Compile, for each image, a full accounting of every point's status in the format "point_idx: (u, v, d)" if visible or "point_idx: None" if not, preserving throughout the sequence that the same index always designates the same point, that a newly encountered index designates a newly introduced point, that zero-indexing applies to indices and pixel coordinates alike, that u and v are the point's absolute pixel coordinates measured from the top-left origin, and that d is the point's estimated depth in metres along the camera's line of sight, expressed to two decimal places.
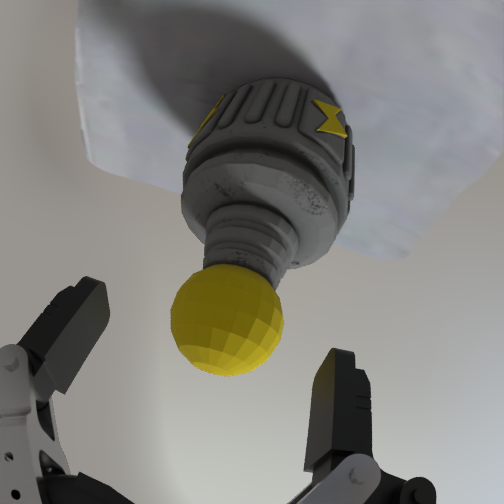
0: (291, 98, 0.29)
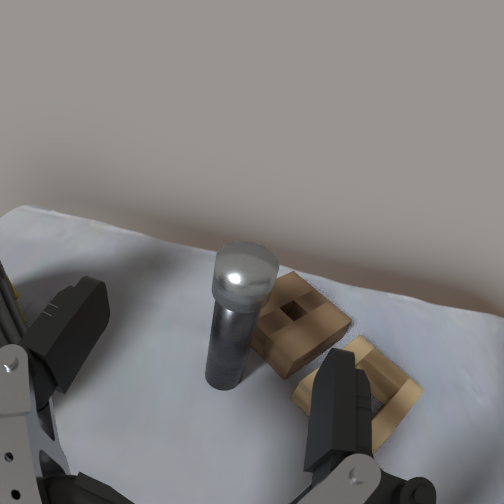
0: None
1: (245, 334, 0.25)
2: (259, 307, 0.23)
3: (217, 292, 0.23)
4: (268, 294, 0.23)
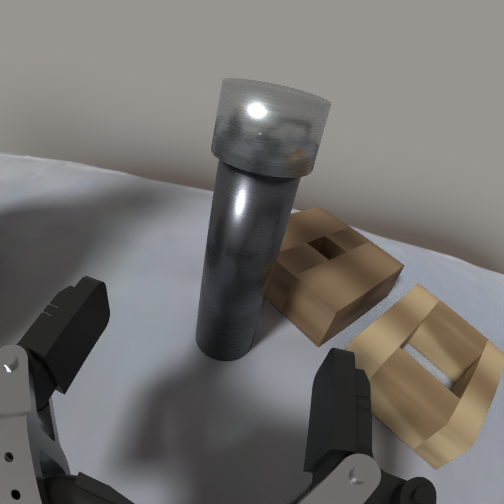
0: None
1: (268, 237, 0.14)
2: (299, 168, 0.12)
3: (221, 139, 0.12)
4: (314, 145, 0.12)
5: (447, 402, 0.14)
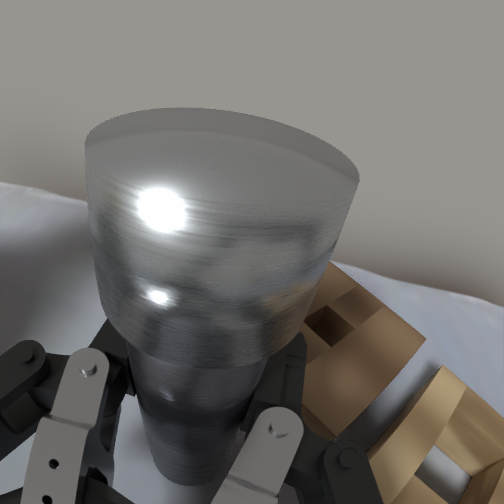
0: None
1: (223, 414, 0.07)
2: (275, 343, 0.05)
3: (98, 276, 0.05)
4: (313, 288, 0.05)
5: None
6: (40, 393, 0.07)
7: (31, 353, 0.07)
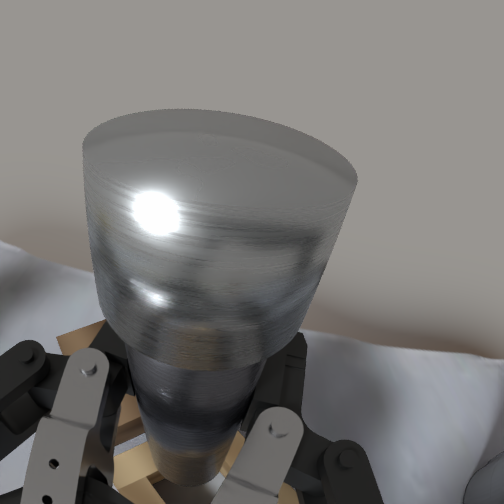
0: None
1: (222, 415, 0.07)
2: (272, 345, 0.05)
3: (97, 278, 0.05)
4: (311, 290, 0.05)
5: None
6: (40, 393, 0.07)
7: (31, 353, 0.07)
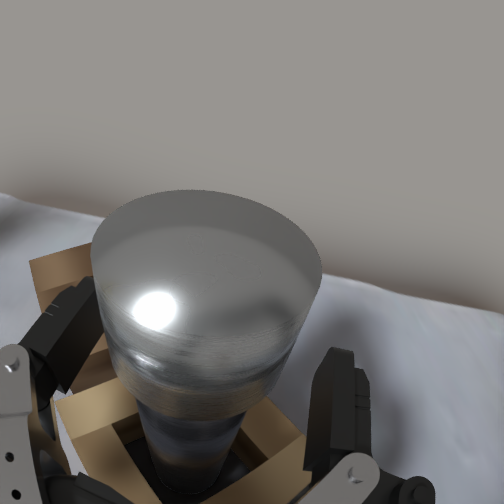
0: None
1: (215, 443, 0.08)
2: (251, 402, 0.06)
3: (110, 350, 0.06)
4: (281, 364, 0.06)
5: None
6: None
7: None
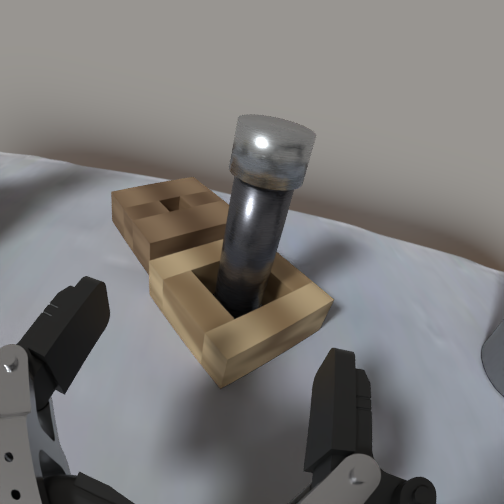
0: None
1: (271, 232, 0.19)
2: (292, 184, 0.17)
3: (238, 163, 0.17)
4: (303, 167, 0.17)
5: (216, 317, 0.20)
6: None
7: None
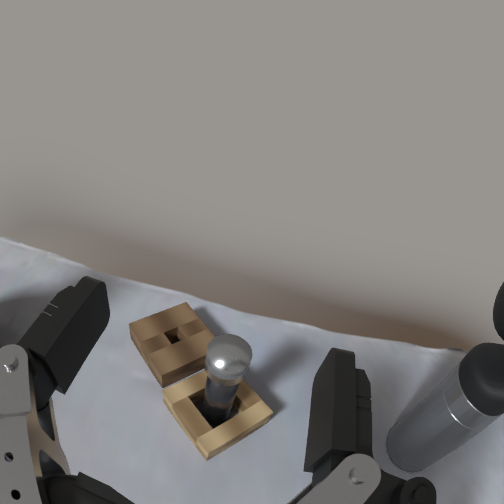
0: None
1: (229, 395, 0.33)
2: (238, 381, 0.31)
3: (208, 371, 0.30)
4: (244, 373, 0.30)
5: (203, 428, 0.34)
6: None
7: None
